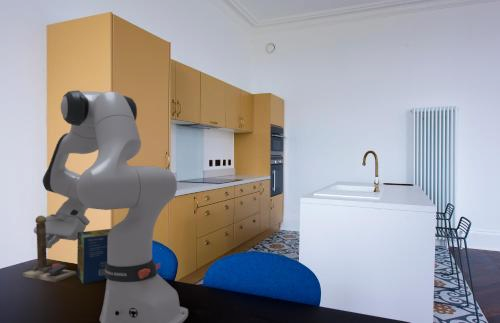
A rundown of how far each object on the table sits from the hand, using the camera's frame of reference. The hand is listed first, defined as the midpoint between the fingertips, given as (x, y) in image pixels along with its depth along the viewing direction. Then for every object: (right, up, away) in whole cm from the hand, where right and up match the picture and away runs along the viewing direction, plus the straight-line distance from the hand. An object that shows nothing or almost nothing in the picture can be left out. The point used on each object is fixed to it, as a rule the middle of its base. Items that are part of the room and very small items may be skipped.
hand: (45, 247), depth 121 cm
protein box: (+22, -10, -2) cm, 24 cm away
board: (+3, -9, -2) cm, 10 cm away
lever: (-1, -7, -1) cm, 7 cm away
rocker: (+7, -7, -4) cm, 10 cm away
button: (+4, -8, -1) cm, 9 cm away
